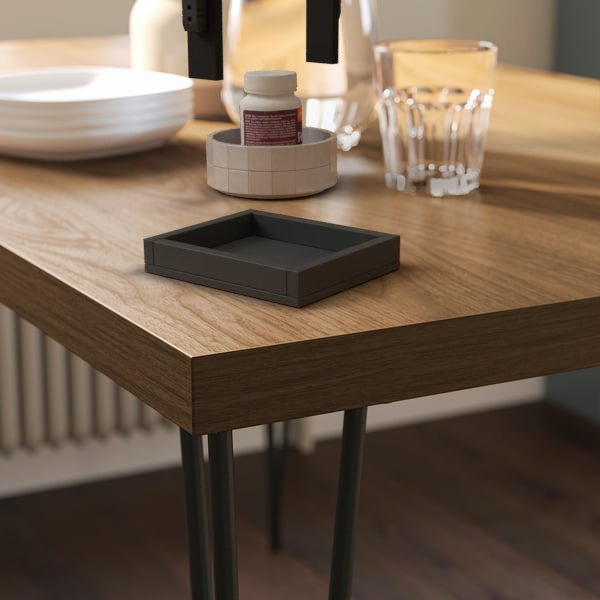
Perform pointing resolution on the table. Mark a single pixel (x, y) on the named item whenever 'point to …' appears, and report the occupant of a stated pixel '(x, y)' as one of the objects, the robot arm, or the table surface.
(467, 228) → the table surface
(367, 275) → the tray
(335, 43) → the robot arm
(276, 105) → the pill bottle
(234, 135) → the gray bowl
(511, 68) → the table surface
